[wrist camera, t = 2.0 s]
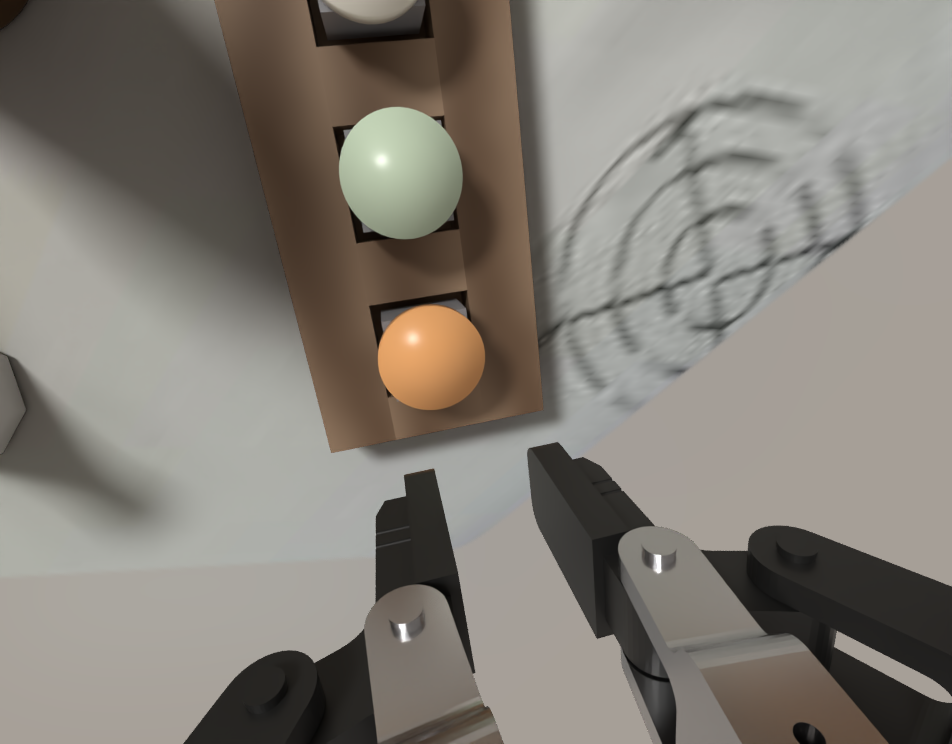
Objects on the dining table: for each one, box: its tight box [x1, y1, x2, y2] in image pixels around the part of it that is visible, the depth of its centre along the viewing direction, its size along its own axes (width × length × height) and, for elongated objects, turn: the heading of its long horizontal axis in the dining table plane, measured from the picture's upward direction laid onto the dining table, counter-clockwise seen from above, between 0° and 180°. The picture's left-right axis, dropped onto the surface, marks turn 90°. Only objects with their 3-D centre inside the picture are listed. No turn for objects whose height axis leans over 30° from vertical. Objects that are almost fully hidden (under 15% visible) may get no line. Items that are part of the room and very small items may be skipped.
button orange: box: [378, 298, 485, 410], centre depth 24 cm, size 5×5×4 cm
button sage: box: [339, 107, 463, 239], centre depth 21 cm, size 5×5×4 cm
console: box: [214, 0, 543, 453], centre depth 23 cm, size 12×26×3 cm, turn 8°
